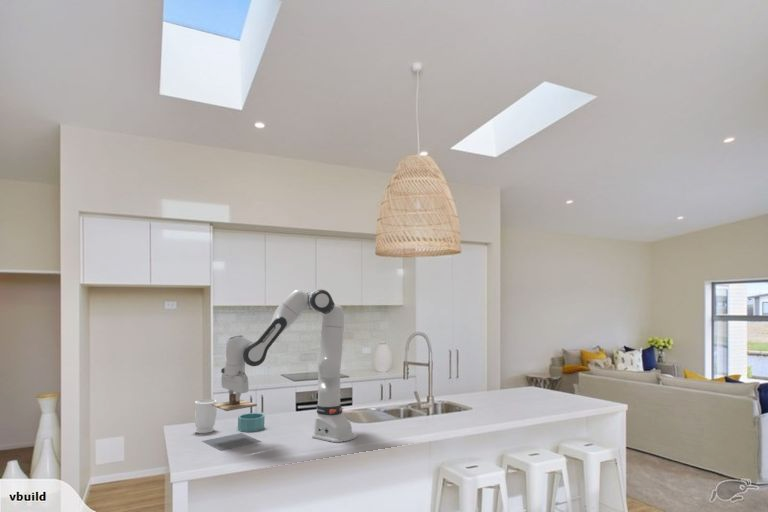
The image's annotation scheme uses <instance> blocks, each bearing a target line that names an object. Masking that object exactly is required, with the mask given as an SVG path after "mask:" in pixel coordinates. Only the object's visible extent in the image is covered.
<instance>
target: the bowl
mask: <svg viewBox="0 0 768 512" xmlns="http://www.w3.org/2000/svg"><path fill="white" fill-rule="evenodd" d="M263 429H265V414H263V413H262V412H261V413H260V412H259V413H258V412H251V413H243V414H240V415H238V417H237V430H238V431H240V432H244V433H245V432H246V433H249V432H258V431H261V430H263Z"/></svg>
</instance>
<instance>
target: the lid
mask: <svg viewBox="0 0 768 512" xmlns="http://www.w3.org/2000/svg"><path fill="white" fill-rule="evenodd" d="M228 395H229V397H228V398H229V399H228V401H224V402H219V403H218V402H217V403H216V404H212V406H213V407H216V409H219V410H223V411H225V412H229V411H235V410H241V409H247V408H253V407H257V406H258V405H257V403H254V402H251V401H248V400H245V399H244V400H243V399H240V400H239V401H235V397H236V393H234V394H229V393H228Z"/></svg>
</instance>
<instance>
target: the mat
mask: <svg viewBox="0 0 768 512" xmlns="http://www.w3.org/2000/svg"><path fill="white" fill-rule="evenodd" d="M201 442H202V443H204V444H206V445H208V446H210V447H212V448H213V449H217V450H218V451H221V452H222V451H225V450H226V451H227V450H231V449H235V448H239V447H240V448H241V447H244V446H249V445H253V444H258V443H262V442H263V441H261V440H259V439H257V438H254V437H251V436H249V435H247V434H245V433H243V432H240V433H236V434H235V433H233V434H231V435H230V434H229V435H226V436H220V437H219V436H218V437H215V438H209V439H205V440H201Z"/></svg>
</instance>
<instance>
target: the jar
mask: <svg viewBox="0 0 768 512" xmlns="http://www.w3.org/2000/svg"><path fill="white" fill-rule="evenodd" d="M217 403H218V401H217V399H213V398H212V399H211V398H209V399H208V398H207V399H199V400H195V401H194V405H195V408H194V423H195V428H196V431H195V433H197V434H207V433H211V432H214V430H215V429H214V426H215V425H216V424H215V423H216V418H217V414H218V413H217V409H218V408H216V407H213V406H212V404H217Z"/></svg>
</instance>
